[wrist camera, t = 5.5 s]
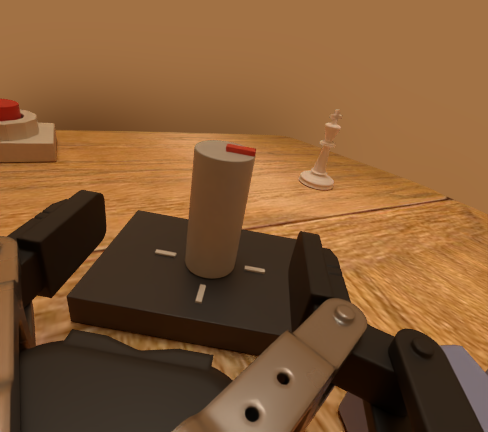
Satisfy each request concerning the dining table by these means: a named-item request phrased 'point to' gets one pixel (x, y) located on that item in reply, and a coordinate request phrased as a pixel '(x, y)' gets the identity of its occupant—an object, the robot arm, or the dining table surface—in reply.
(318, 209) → the dining table surface
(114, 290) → the panel
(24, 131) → the box
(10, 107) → the button
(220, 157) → the knob
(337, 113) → the chess piece
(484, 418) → the blocks
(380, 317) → the dining table surface
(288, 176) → the dining table surface
